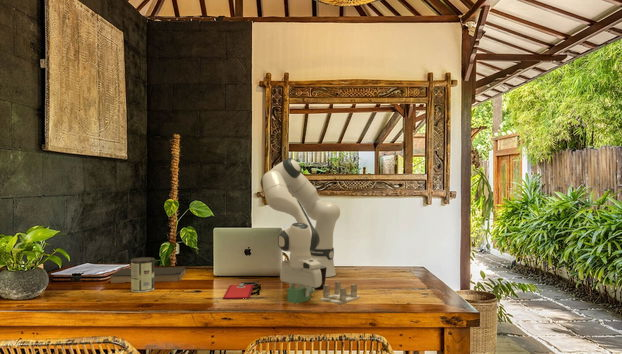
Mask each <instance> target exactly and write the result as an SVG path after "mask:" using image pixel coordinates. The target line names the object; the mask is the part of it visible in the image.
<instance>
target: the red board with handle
mask: <svg viewBox="0 0 622 354" xmlns="http://www.w3.org/2000/svg"><path fill="white" fill-rule="evenodd" d="M252 290H253V291H252ZM260 290H261V291H262V283H261V284H260V281H241V283H239V284H230V285H229V286H228V288H227V290H226V292H225V293H224V295H223V296H222V300H246V299H245V298H250V299H251V297H252V296H255V295H256V296H257V295H260V294H261V291H260ZM250 296H251V297H250ZM260 296H261V295H260ZM243 298H244V299H243Z"/></svg>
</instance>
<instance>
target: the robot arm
mask: <svg viewBox="0 0 622 354" xmlns="http://www.w3.org/2000/svg"><path fill="white" fill-rule="evenodd" d="M301 169H302V168H301V165H300V164H299V162H298V161H297V160H296V159H294V158H291V157H288V158H286V159H284V160H283V161H281V162H279V163H277V164H276V165H274V166H273V168H271V169H270V170H269V171H267V172H266V173H264V174H263V176H262V177H261V179H260V187H261V189H262V190H263V194H264V196H265V200H266V202H267V204H268V206H269V207H270V209H271V208H272V210H275V211H276V212H282V213H286V214H287V215H290V216H292V217H293V218H294V219H295V221H296V222H293V223H292V224H291V225H290V227H289V228H286V229H284V230H281V231H280V233H279V235H278V236H277V237H278V238H277V244H278V247H279V248H280V250H281V251H283V252H289V260H287V259H284V260H283V261H282V262H281V264H280V265H281V267H280V274H279V280H280V281H281V282H282V283H288V285H289V288H291V287H295V286H296V285H297V286H298V285H303V286H306V292H304V296H305V297H308V296H309V292H310V290H311V287H314V288H317V287H320V286H321V284H322V275H321V270H320V269H319V268H320V267H321V265H324V266H327V269H326V278H328V277H329V278H330V277H335V276H337V273H336V269H335V263H334V256H335V255H334V254H335V249H334V231H335V226H336V222H337V220H339V218H340V216H341V208H340V207H339V206H338V204H336V203H334V202H333V201H327V200H324V199H322V198H321V197H320V195H319V193H318V192H317V191H318V190H317V188H316V187H315V186H314V185H313V183H311V182H310V180H309V179H308V178H307V177H306V176H305V175H304V174H303V173H301V172H302V171H301ZM310 219H311V220H313V221H315V227H314V226H313V224H312V222H311V221H310Z"/></svg>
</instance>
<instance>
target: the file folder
mask: <svg viewBox="0 0 622 354" xmlns="http://www.w3.org/2000/svg"><path fill="white" fill-rule="evenodd" d="M186 272H187V268H186V266H182V267H181V266H179V267H178V266H177V267H176V266H175V267H174V266H173V267H172V266H171V267H154V283H155V282H158V283H159V282H180V281H181V280H182V278H183V277H184V275H185V274H186ZM109 281H110V282H109V283H110V284H120V283H123V284H124V283H125V282H131V267H130V268H129V267H128V268H127V267H126V268H125V267H124V268H120V269H119V270H117V271H115V272H113V274H111V275H110V276H109ZM125 284H126V283H125Z"/></svg>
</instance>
